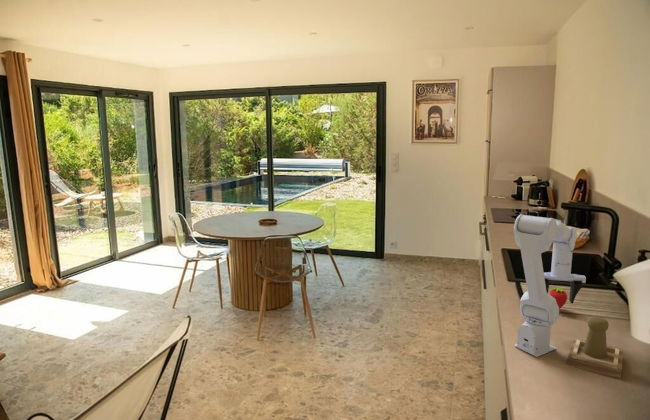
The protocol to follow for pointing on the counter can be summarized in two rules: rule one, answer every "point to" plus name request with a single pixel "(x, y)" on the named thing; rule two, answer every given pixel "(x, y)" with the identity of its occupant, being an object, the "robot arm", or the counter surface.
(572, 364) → the wooden serving tray
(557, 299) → the strawberry
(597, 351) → the cork
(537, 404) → the counter surface
